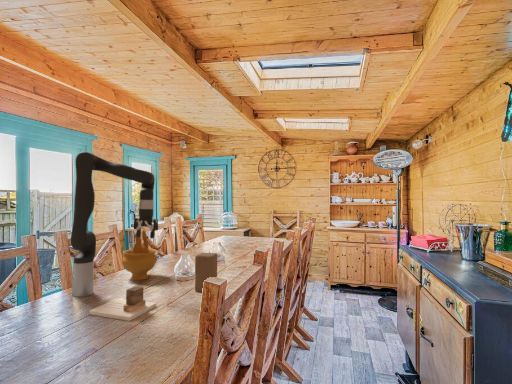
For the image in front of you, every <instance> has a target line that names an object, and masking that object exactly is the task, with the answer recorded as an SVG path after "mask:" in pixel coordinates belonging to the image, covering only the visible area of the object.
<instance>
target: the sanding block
mask: <svg viewBox="0 0 512 384" xmlns="http://www.w3.org/2000/svg"><path fill="white" fill-rule="evenodd" d="M125 299H126V305H124V311H126V312H134V311H136V310H138V309H140V308H141V307H143V306H145V302H147V301H146V299H144V286H138V285H135V286H132V287H130V288H127V289H126V291H125Z"/></svg>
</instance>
